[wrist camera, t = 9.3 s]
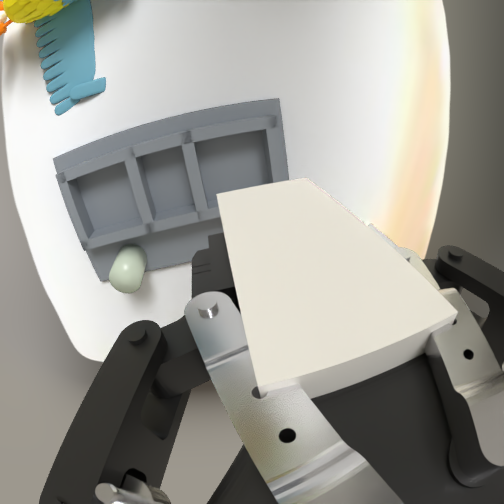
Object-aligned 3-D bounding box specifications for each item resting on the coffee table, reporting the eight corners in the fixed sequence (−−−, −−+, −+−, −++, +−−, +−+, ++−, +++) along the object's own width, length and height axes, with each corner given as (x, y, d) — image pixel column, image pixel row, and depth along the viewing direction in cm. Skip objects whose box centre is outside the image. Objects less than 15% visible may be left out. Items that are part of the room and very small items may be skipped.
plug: (216, 194, 11) (258, 386, 4) (306, 177, 12) (458, 311, 4) (232, 271, 14) (276, 453, 6) (310, 253, 14) (406, 405, 6)
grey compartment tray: (55, 157, 20) (32, 169, 16) (277, 98, 22) (293, 97, 18) (101, 278, 28) (91, 304, 24) (292, 236, 30) (307, 258, 26)
